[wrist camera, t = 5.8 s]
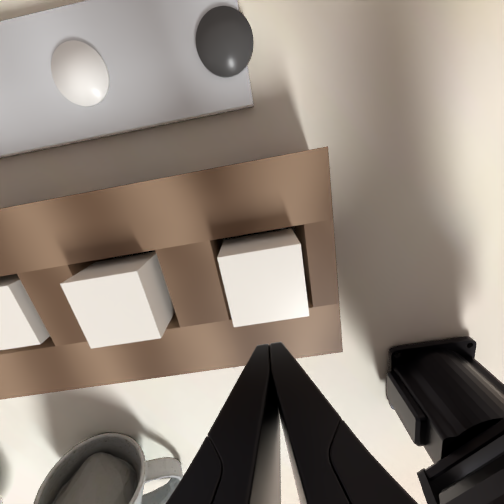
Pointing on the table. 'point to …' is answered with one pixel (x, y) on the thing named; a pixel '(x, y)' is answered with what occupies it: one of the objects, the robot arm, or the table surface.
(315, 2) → the table surface
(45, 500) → the ceramic mug
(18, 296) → the button
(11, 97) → the pattern card
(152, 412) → the table surface
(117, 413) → the table surface
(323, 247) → the button board
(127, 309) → the middle button
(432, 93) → the table surface
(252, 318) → the button
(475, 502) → the robot arm
